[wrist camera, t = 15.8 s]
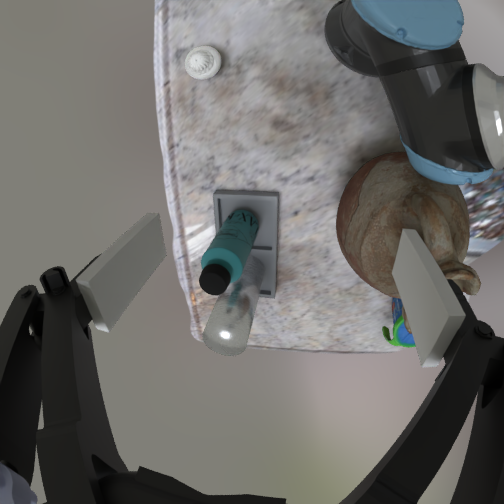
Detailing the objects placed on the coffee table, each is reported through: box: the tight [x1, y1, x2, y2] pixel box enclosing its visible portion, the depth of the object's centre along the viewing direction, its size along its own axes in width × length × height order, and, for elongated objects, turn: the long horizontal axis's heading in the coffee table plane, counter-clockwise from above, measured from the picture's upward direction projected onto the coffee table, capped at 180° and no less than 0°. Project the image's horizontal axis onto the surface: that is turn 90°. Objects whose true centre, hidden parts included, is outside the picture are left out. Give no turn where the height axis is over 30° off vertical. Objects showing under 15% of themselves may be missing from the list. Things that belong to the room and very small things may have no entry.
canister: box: [202, 255, 265, 356], centre depth 51 cm, size 7×7×20 cm
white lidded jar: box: [185, 46, 221, 80], centre depth 38 cm, size 6×6×7 cm
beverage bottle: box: [199, 210, 259, 295], centre depth 46 cm, size 6×7×20 cm
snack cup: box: [382, 298, 416, 347], centre depth 53 cm, size 16×10×10 cm
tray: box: [213, 190, 279, 298], centre depth 57 cm, size 12×22×2 cm, turn 1°
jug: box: [336, 152, 481, 334], centre depth 35 cm, size 22×22×30 cm
